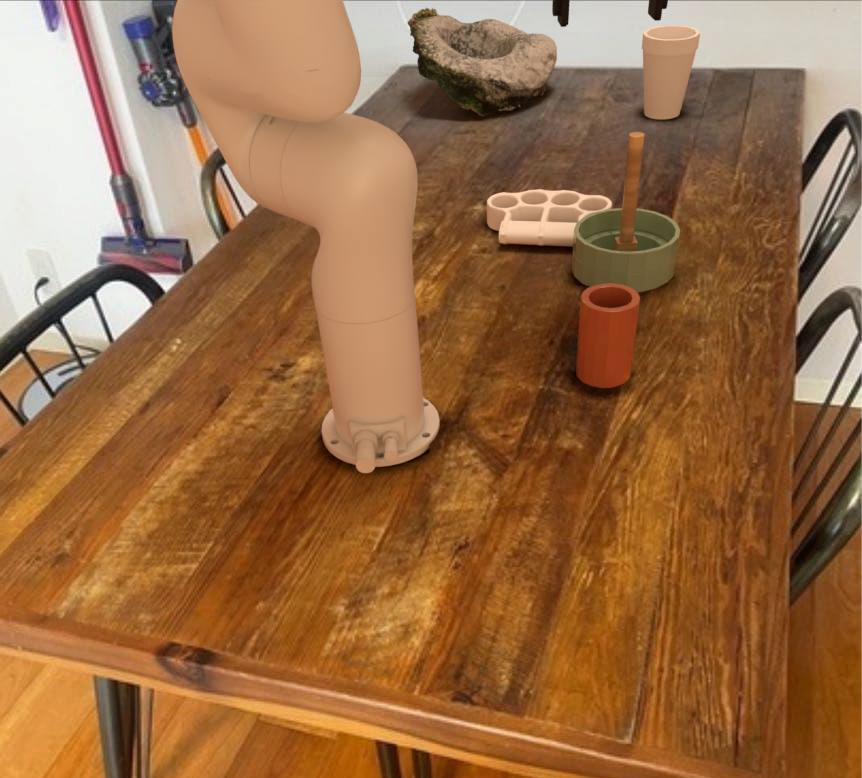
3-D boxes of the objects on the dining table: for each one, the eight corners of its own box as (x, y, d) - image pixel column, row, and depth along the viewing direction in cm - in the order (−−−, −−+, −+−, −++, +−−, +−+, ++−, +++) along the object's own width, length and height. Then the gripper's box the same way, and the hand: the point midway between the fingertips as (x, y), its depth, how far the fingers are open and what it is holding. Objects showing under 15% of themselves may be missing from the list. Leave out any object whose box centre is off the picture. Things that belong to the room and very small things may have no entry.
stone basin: (386, 42, 173) (411, -40, 163) (516, 90, 184) (548, 16, 174) (403, 105, 154) (433, 18, 144) (546, 154, 165) (584, 76, 155)
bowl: (684, 293, 109) (691, 248, 104) (580, 301, 109) (583, 257, 105) (660, 247, 118) (666, 204, 114) (565, 254, 118) (567, 211, 114)
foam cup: (625, 111, 157) (632, 31, 148) (667, 101, 160) (676, 22, 151) (656, 126, 151) (665, 43, 142) (699, 115, 154) (711, 34, 145)
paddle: (634, 271, 112) (649, 136, 100) (614, 273, 112) (627, 138, 101) (631, 264, 114) (646, 130, 102) (611, 266, 114) (624, 132, 102)
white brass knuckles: (476, 249, 121) (493, 205, 131) (605, 254, 117) (613, 209, 128) (475, 226, 119) (493, 183, 129) (607, 231, 115) (615, 187, 125)
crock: (635, 391, 94) (645, 309, 87) (580, 395, 94) (586, 313, 87) (624, 361, 98) (633, 281, 91) (572, 365, 98) (577, 285, 91)
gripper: (536, -184, 75) (530, 35, 87) (732, -198, 75) (700, 24, 87) (526, -190, 81) (522, 17, 93) (709, -202, 81) (681, 7, 92)
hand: (608, 20), depth 90 cm, fingers open, 9 cm apart
